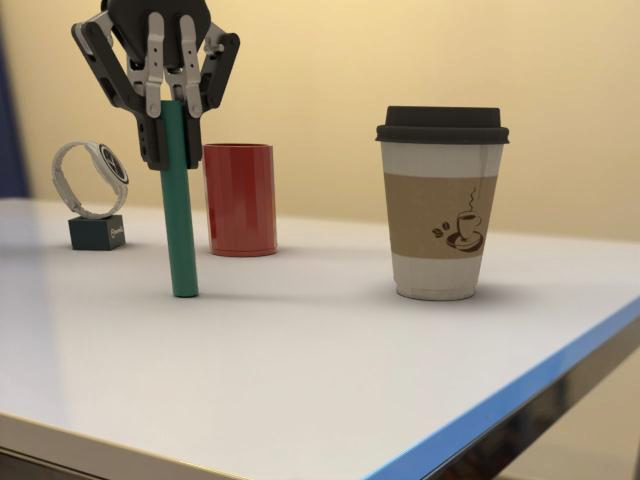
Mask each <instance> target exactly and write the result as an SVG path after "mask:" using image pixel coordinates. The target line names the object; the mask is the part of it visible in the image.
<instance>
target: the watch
mask: <svg viewBox="0 0 640 480" xmlns="http://www.w3.org/2000/svg"><path fill="white" fill-rule="evenodd" d="M77 146H84V147H83V148H84V149H85V150H86V151H87V152H88V153H89V154H90V159H91V161H92V163H93V164H92V165H93V166H94V168H95V169H96V171H97V173H98V174H99V175H100V177H101V178H102V179H103V181H104V182H105V183H106V184H107V185H108V186H110V187H111V188H112V190H113V192H114V194H115V195H116V196H117V199H116V201H115V203H114V205H113V207H112V208H111V209H110V210H109V211H108V212H105V213H96V212H95V213H94V212H92V211H89V210H87V209H85V208H84V207H82V203H81V201H80V200H79V199H78V197H77V196H76V194H75V193H74V191H73V190H72V188H71V186H70V184H69V182H68V180H67V178H65V173H64V171H63V170H62V165H63V160H64V158H65V157H66V155H67V153H68V152H70V151H71V150H72V149H73V148H75V147H77ZM51 173H52V174H51V176H52V179H51V181H52V183H53V186H54V188H55V190H56V191H57V193H58V195H59V197H60V199H61V200H62V201H63V202H64V203H63V204H65V206H66V207H67V208H68V209H69V210H70V211H71V212H72V213H75V214H77V215H79V216H76V217H73V218H70V219H67V224H68V229H69V230H68V231H69V237H70V242H71V250H74V251H75V250H79V251H87V250H88V251H113V250H114V249H117V248H118V247H121V246H122V245H124V244H126V235H125V227H124V219H123V214H116V213H117V212H119V211H120V210H121V209H122V207H123V206H124V205H125V203H126V199H127V197H128V192H129V187H128V186H129V185H130V179H129V176H128V173H127V171H126V169H125V167H124V165H123V164H122V162H121V160H120V159H119V158H118V157H117V155H116V154H115V153H114V152H113V150H112V149H111V148H109V146H107V145H106V144H104V143H102V142H99V143H98V142H96V141H92V140H77V141H72V142H67V143H66V144H64V145H62V146H61V147H60V148H58V150H57V151H56V153H55V154H54V156H53V159H52V162H51Z"/></svg>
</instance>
